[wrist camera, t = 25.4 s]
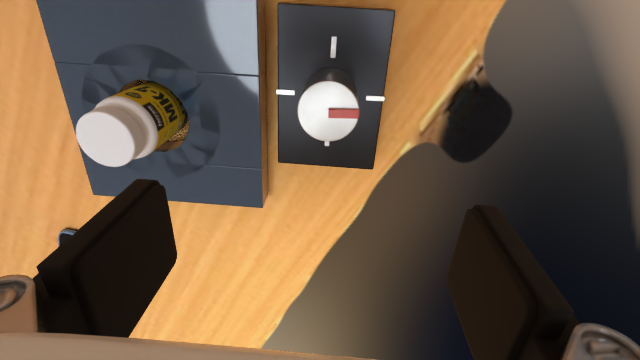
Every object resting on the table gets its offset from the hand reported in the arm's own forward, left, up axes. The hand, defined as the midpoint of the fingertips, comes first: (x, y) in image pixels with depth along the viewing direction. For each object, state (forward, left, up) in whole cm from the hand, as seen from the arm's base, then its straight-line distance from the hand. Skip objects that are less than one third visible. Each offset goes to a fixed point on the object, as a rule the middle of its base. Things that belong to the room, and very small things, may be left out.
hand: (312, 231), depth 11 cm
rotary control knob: (0, 0, -17) cm, 17 cm away
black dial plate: (0, 0, -20) cm, 20 cm away
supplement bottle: (+3, -15, -20) cm, 25 cm away
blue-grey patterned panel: (+2, -13, -20) cm, 24 cm away
